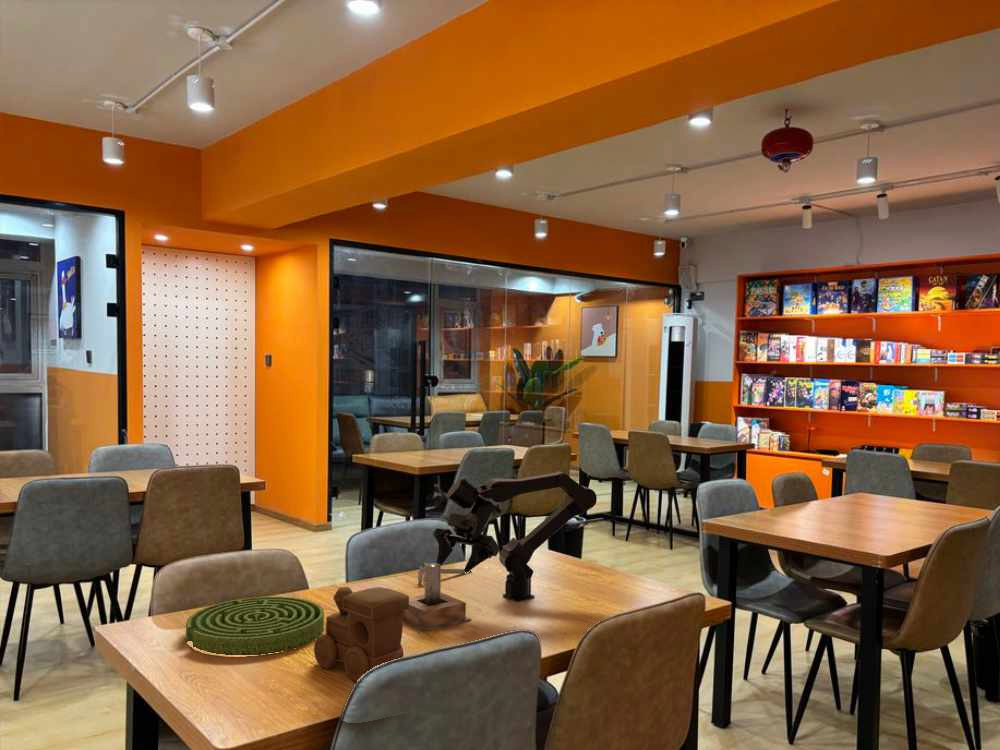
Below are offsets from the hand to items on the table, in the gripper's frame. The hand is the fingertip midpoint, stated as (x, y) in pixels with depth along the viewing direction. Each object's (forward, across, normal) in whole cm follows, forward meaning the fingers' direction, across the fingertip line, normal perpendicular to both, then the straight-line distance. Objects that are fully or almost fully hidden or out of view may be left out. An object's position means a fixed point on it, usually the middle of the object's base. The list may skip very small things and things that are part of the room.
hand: (451, 568), depth 201 cm
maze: (+36, -26, -20) cm, 49 cm away
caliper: (-9, -22, +25) cm, 35 cm away
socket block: (+13, 0, +3) cm, 13 cm away
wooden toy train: (+37, +9, -21) cm, 43 cm away
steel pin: (+12, 0, +3) cm, 13 cm away
